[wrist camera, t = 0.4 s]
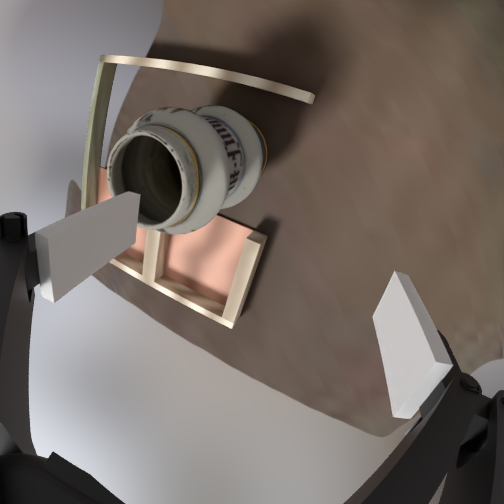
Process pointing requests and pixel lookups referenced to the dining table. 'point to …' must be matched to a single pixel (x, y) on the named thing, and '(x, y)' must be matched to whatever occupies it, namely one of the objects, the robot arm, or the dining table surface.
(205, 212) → the apothecary jar
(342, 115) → the dining table surface
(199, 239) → the trap box
